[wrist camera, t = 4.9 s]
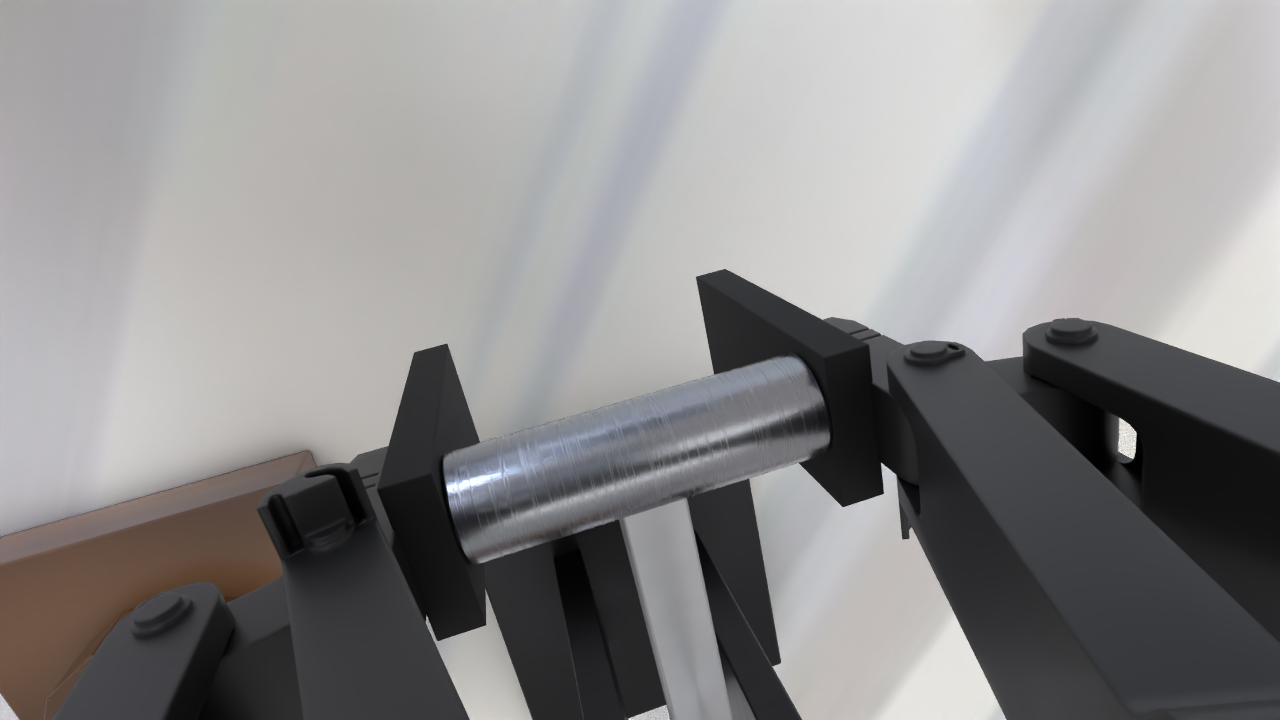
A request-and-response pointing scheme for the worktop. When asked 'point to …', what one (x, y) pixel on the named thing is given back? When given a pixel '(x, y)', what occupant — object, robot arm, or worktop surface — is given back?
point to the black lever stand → (635, 618)
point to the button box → (124, 573)
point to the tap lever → (644, 495)
